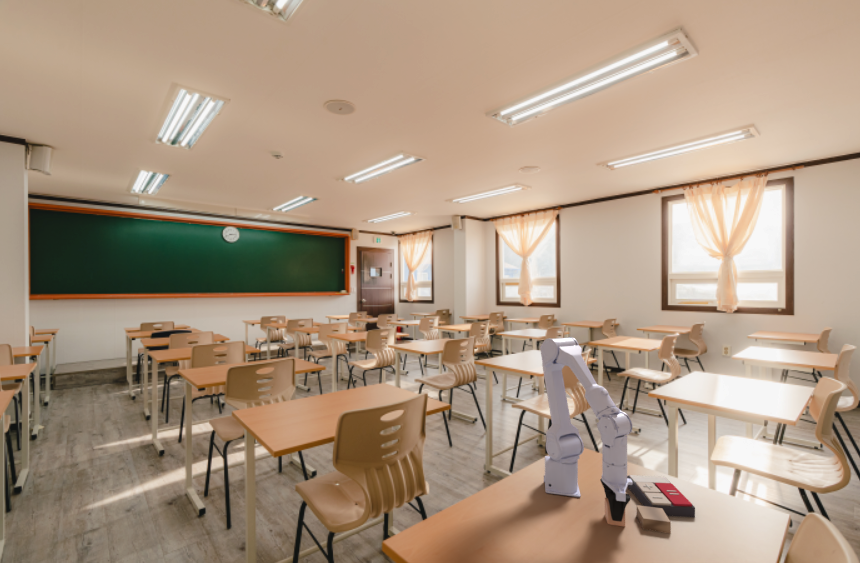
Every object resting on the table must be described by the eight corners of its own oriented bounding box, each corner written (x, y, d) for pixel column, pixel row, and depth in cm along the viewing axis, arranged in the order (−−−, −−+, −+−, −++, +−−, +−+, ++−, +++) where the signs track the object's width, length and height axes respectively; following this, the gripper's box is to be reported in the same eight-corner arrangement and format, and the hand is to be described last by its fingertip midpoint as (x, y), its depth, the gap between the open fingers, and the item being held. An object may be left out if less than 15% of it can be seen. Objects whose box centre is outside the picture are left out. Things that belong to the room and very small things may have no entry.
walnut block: (643, 530, 95) (643, 518, 95) (636, 516, 101) (636, 505, 101) (670, 534, 93) (670, 522, 94) (662, 520, 99) (662, 508, 99)
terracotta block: (607, 524, 97) (607, 506, 97) (604, 515, 101) (604, 497, 101) (625, 526, 96) (625, 508, 96) (621, 517, 100) (621, 499, 100)
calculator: (651, 503, 101) (626, 472, 116) (651, 519, 101) (626, 486, 116) (696, 504, 100) (665, 474, 115) (695, 521, 100) (664, 488, 115)
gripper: (639, 476, 91) (640, 535, 90) (625, 451, 105) (625, 502, 104) (607, 472, 92) (607, 530, 92) (597, 448, 106) (597, 498, 106)
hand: (614, 515), depth 98 cm, fingers closed on terracotta block, 4 cm apart
